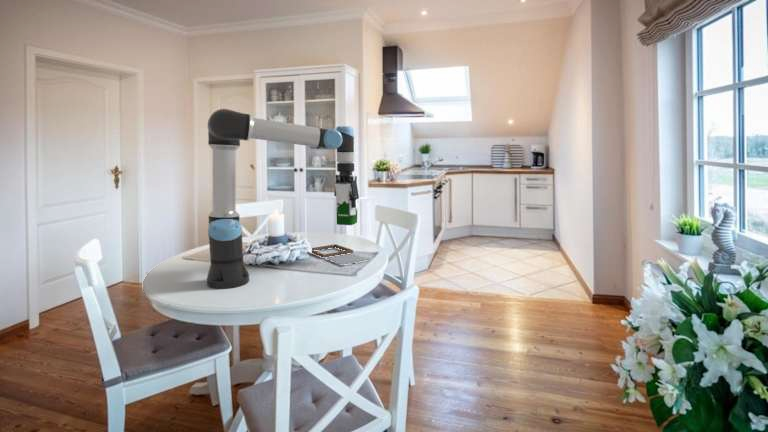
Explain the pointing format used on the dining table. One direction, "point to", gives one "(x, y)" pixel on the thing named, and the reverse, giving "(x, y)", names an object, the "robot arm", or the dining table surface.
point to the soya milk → (344, 205)
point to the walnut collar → (331, 253)
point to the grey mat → (347, 258)
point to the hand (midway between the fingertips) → (346, 213)
